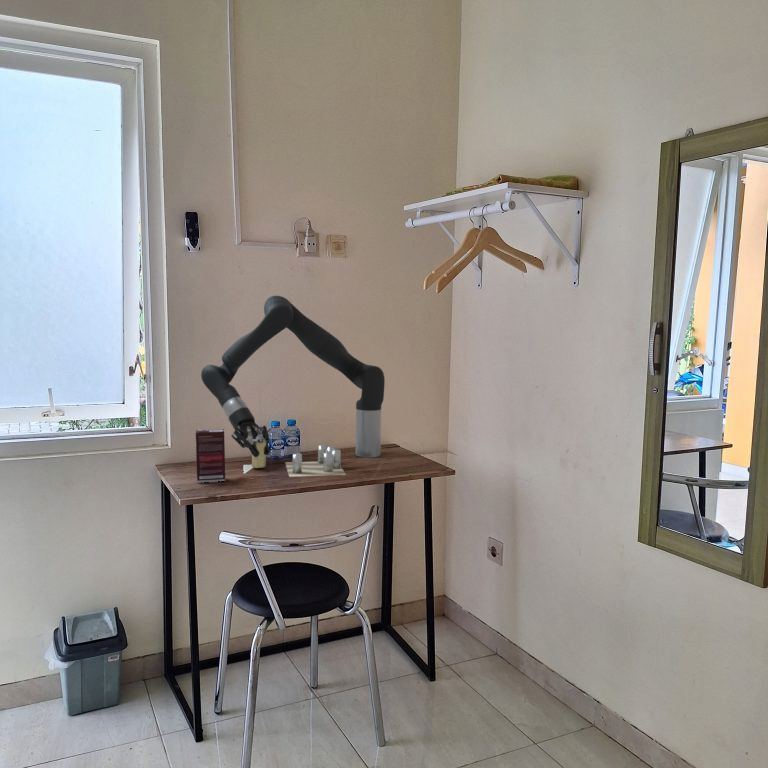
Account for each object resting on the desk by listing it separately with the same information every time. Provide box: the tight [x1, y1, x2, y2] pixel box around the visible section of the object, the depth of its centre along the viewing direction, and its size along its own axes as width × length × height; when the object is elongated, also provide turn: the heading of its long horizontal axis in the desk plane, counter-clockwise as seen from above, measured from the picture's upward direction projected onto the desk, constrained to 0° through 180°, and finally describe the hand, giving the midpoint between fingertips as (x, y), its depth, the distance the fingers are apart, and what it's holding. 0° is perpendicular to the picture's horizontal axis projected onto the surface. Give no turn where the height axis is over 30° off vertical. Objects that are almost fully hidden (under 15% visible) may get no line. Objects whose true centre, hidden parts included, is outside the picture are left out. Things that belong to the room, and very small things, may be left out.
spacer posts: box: [292, 443, 342, 474], centre depth 231 cm, size 16×16×6 cm
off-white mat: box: [242, 464, 254, 475], centre depth 229 cm, size 18×10×1 cm, turn 12°
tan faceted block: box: [251, 440, 267, 469], centre depth 228 cm, size 5×4×8 cm
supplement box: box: [195, 428, 226, 484], centre depth 215 cm, size 9×5×16 cm, turn 105°
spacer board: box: [284, 461, 347, 478], centre depth 230 cm, size 20×18×1 cm
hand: (262, 454), depth 227 cm, fingers closed on tan faceted block, 4 cm apart
